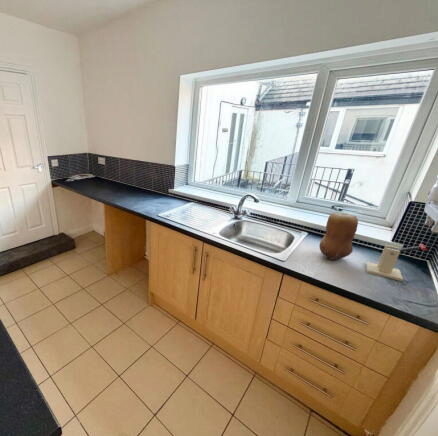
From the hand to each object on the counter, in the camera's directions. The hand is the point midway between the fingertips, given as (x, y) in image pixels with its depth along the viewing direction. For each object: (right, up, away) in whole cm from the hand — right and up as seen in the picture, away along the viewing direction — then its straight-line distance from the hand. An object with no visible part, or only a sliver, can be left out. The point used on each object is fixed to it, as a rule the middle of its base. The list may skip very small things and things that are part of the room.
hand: (430, 228), depth 102 cm
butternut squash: (-22, -17, +25) cm, 38 cm away
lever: (-3, -11, +7) cm, 13 cm away
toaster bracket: (-7, -21, +13) cm, 26 cm away
